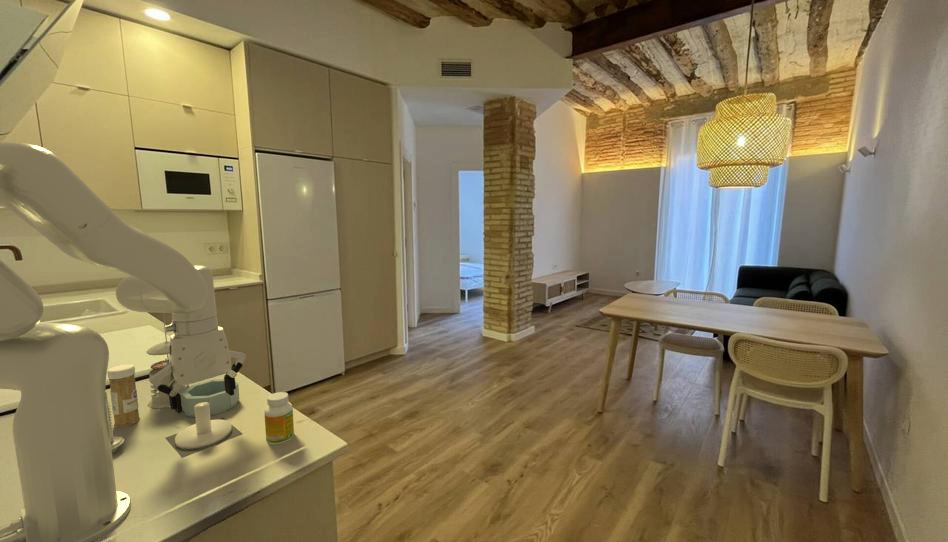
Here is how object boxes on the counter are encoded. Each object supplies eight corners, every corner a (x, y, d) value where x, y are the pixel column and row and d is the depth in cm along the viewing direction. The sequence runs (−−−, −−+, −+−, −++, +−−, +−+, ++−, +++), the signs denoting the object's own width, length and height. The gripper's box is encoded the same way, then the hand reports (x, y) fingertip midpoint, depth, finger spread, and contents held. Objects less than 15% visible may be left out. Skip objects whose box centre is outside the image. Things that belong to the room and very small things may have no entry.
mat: (182, 459, 77) (182, 457, 76) (165, 439, 83) (165, 437, 83) (243, 435, 85) (242, 433, 85) (223, 419, 92) (223, 417, 92)
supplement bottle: (290, 444, 82) (287, 400, 81) (262, 447, 81) (259, 402, 80) (296, 431, 87) (294, 389, 86) (270, 433, 86) (268, 391, 85)
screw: (128, 444, 81) (121, 456, 77) (97, 450, 79) (88, 463, 75) (121, 384, 80) (113, 394, 75) (90, 389, 77) (79, 399, 73)
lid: (184, 455, 77) (181, 421, 76) (168, 437, 83) (165, 406, 82) (239, 433, 85) (237, 403, 84) (221, 419, 91) (219, 390, 90)
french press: (191, 387, 108) (183, 299, 105) (200, 401, 100) (192, 306, 97) (145, 399, 101) (135, 304, 98) (150, 415, 93) (140, 312, 90)
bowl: (193, 423, 90) (191, 402, 89) (178, 408, 96) (176, 389, 96) (245, 405, 98) (243, 387, 98) (227, 393, 105) (226, 375, 104)
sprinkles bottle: (138, 425, 89) (132, 368, 87) (111, 431, 86) (104, 372, 84) (141, 416, 93) (135, 362, 91) (116, 422, 90) (109, 366, 88)
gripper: (148, 340, 72) (160, 425, 75) (248, 319, 86) (255, 392, 88) (138, 332, 77) (149, 412, 80) (234, 313, 90) (241, 382, 93)
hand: (205, 401), depth 84 cm, fingers open, 9 cm apart
